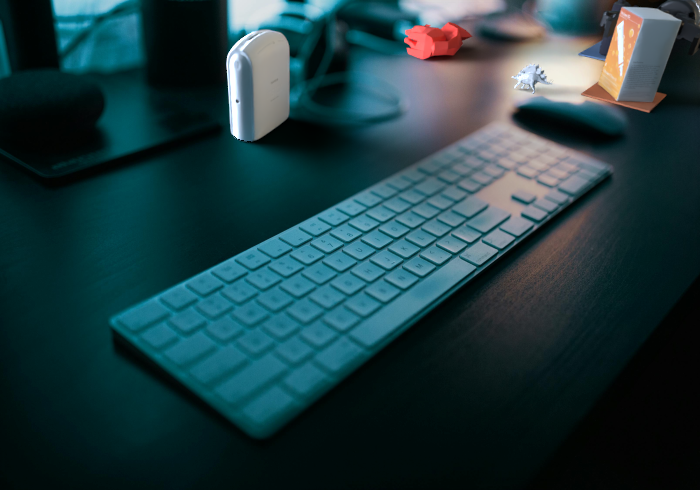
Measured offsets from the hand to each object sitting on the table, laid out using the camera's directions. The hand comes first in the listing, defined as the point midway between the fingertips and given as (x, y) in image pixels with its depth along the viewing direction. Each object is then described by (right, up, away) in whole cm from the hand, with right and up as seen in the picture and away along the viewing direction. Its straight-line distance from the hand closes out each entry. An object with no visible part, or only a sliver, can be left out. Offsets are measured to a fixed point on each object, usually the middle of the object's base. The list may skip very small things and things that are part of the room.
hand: (648, 37), depth 96 cm
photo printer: (-61, -19, -18) cm, 66 cm away
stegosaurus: (-19, -9, +2) cm, 21 cm away
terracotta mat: (-3, -9, +3) cm, 10 cm away
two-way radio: (+4, +5, +23) cm, 24 cm away
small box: (-3, -9, +3) cm, 10 cm away
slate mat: (+8, +6, +26) cm, 28 cm away
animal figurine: (-32, +4, +18) cm, 37 cm away
